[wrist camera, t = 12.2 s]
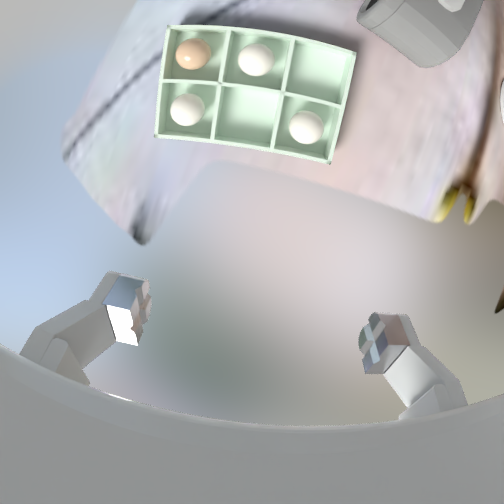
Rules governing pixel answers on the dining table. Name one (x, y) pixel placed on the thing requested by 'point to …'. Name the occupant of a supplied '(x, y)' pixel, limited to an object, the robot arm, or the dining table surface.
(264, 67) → the cream egg
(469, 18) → the alarm clock
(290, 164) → the dining table surface
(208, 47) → the brown egg
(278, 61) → the egg tray
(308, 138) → the cream egg
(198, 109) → the cream egg
